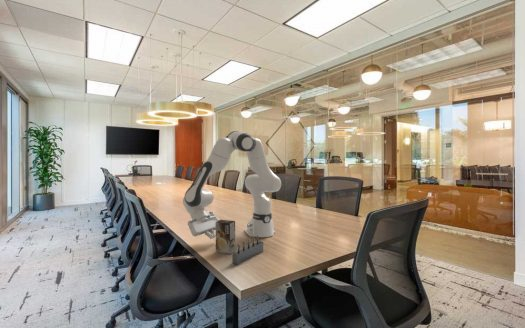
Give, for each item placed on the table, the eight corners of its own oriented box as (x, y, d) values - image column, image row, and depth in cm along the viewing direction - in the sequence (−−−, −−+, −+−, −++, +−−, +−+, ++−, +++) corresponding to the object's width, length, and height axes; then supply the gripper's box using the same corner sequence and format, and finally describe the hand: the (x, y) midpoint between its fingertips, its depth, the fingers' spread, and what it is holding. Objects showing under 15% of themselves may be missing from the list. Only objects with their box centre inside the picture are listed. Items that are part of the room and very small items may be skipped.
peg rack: (231, 263, 122) (231, 245, 122) (258, 250, 141) (258, 233, 140) (237, 265, 120) (237, 246, 120) (263, 251, 139) (263, 234, 138)
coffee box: (236, 250, 140) (236, 220, 140) (230, 254, 134) (230, 223, 134) (221, 247, 144) (221, 219, 143) (215, 251, 138) (215, 221, 137)
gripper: (189, 218, 139) (201, 239, 134) (215, 211, 156) (228, 230, 151) (183, 225, 142) (195, 246, 137) (210, 217, 159) (222, 236, 154)
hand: (213, 237), depth 144 cm, fingers closed
